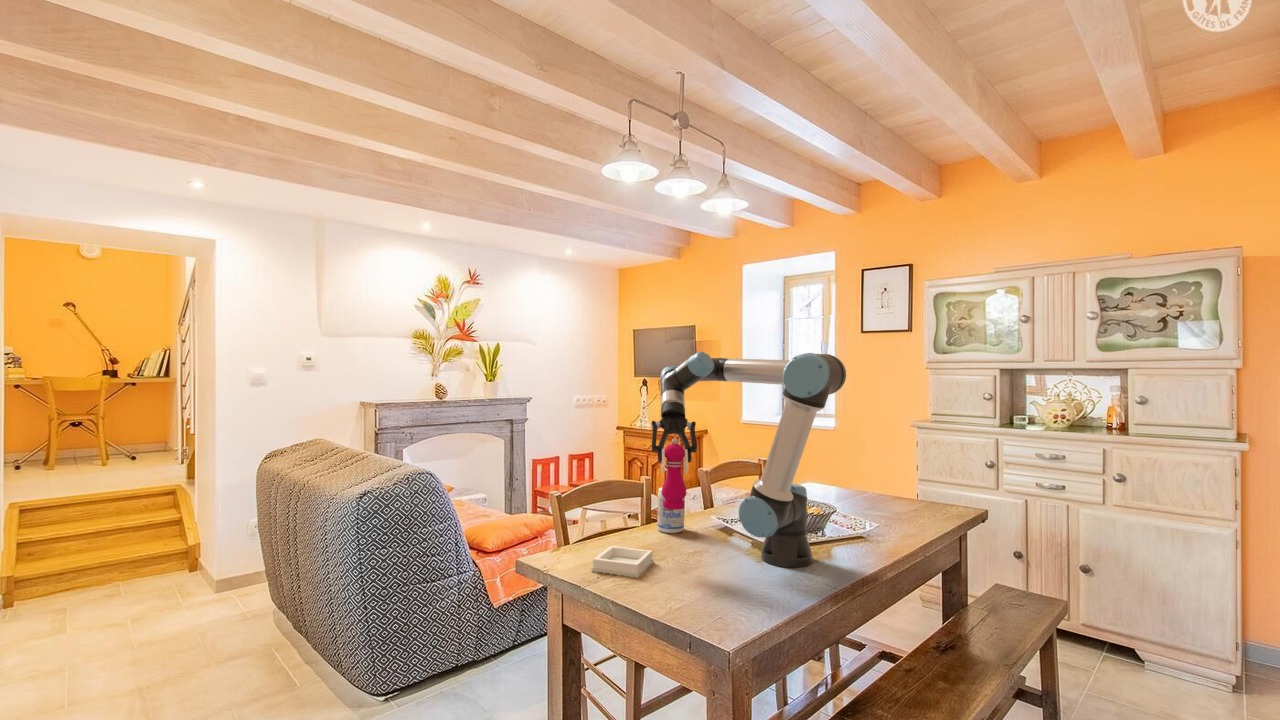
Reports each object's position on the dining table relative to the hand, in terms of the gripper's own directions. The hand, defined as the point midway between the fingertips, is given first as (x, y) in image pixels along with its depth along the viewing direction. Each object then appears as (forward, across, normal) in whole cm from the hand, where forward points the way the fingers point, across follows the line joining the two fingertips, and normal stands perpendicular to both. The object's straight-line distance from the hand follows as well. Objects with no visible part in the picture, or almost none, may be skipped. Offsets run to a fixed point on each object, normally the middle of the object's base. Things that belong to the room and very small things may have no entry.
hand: (675, 470), depth 172 cm
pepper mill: (+6, 0, -11) cm, 12 cm away
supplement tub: (-9, -2, -51) cm, 52 cm away
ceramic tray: (+18, +14, -23) cm, 33 cm away
